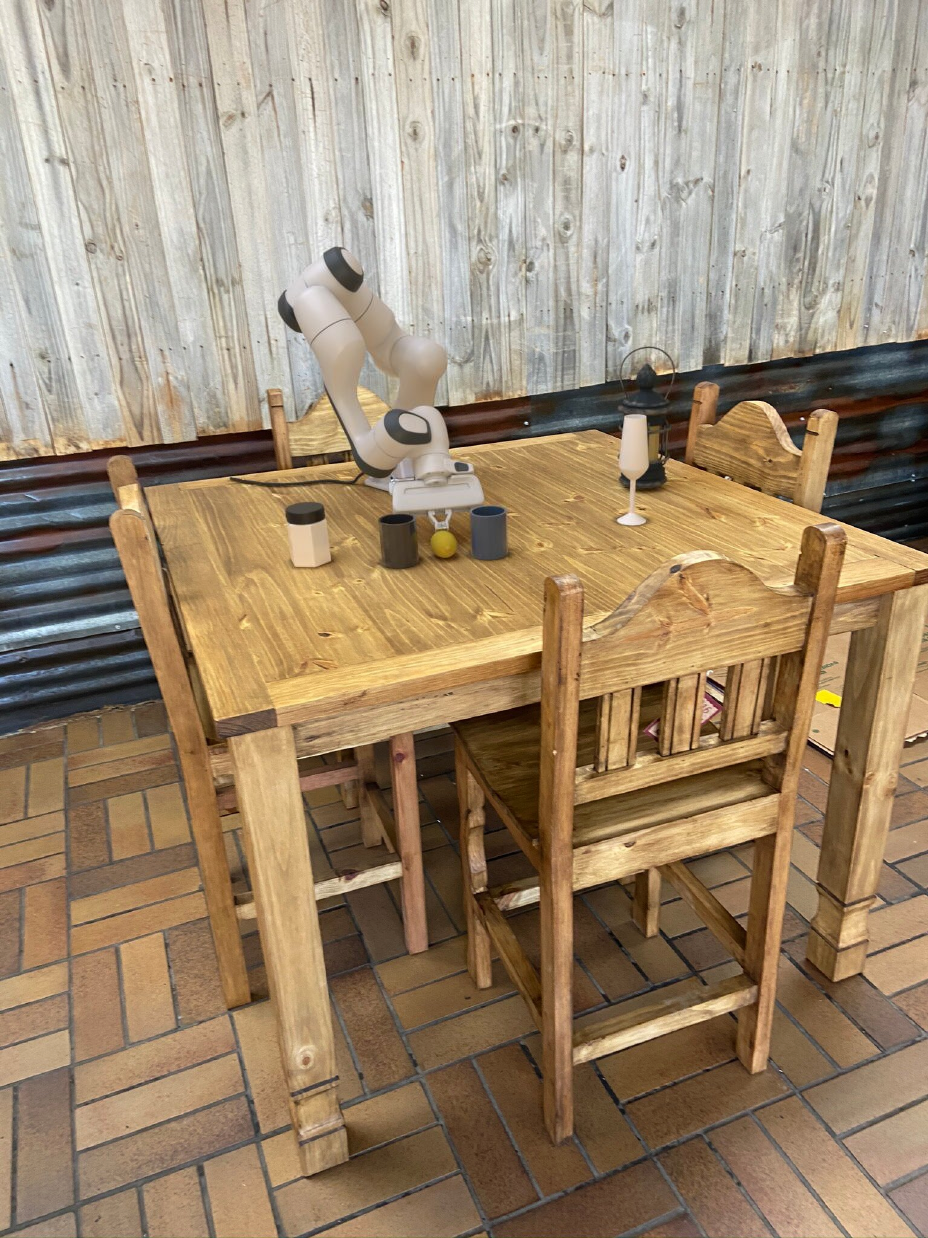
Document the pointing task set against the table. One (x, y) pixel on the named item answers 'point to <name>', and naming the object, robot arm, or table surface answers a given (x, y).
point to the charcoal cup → (398, 540)
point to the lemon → (443, 544)
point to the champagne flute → (633, 460)
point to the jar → (308, 534)
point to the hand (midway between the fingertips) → (442, 530)
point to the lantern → (649, 423)
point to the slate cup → (488, 532)
